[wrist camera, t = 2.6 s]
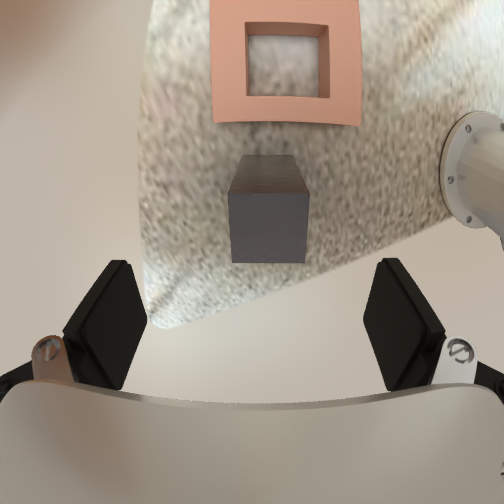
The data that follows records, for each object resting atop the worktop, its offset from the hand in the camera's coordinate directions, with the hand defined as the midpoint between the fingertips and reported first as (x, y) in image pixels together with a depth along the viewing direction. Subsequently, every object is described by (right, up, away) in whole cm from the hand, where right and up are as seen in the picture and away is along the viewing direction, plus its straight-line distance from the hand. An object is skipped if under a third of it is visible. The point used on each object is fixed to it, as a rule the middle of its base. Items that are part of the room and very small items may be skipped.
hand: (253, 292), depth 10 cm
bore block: (+2, +20, +6) cm, 21 cm away
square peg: (+1, +8, +13) cm, 15 cm away
